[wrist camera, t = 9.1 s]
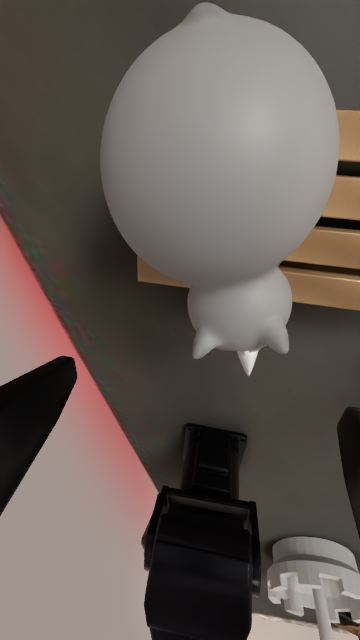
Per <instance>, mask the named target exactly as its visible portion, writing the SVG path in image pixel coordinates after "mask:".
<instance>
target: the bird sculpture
mask: <svg viewBox="0 0 360 640" xmlns="http://www.w3.org/2000/svg"><path fill="white" fill-rule="evenodd" d="M338 616H339V615H338ZM339 621H340V623H334V624H335V625H336V626H338V627H340V628H342V629H344V630H346V631H348V632H350V633H352V634H354V635H356V636H358V638H359V640H360V625H359V626H358V625H357V624H356V623H355V622H354V623H353V622H352V621H350V620H349V621H348V619H347V618H344V617H341V616H339ZM354 624H355V625H354Z"/></svg>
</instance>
